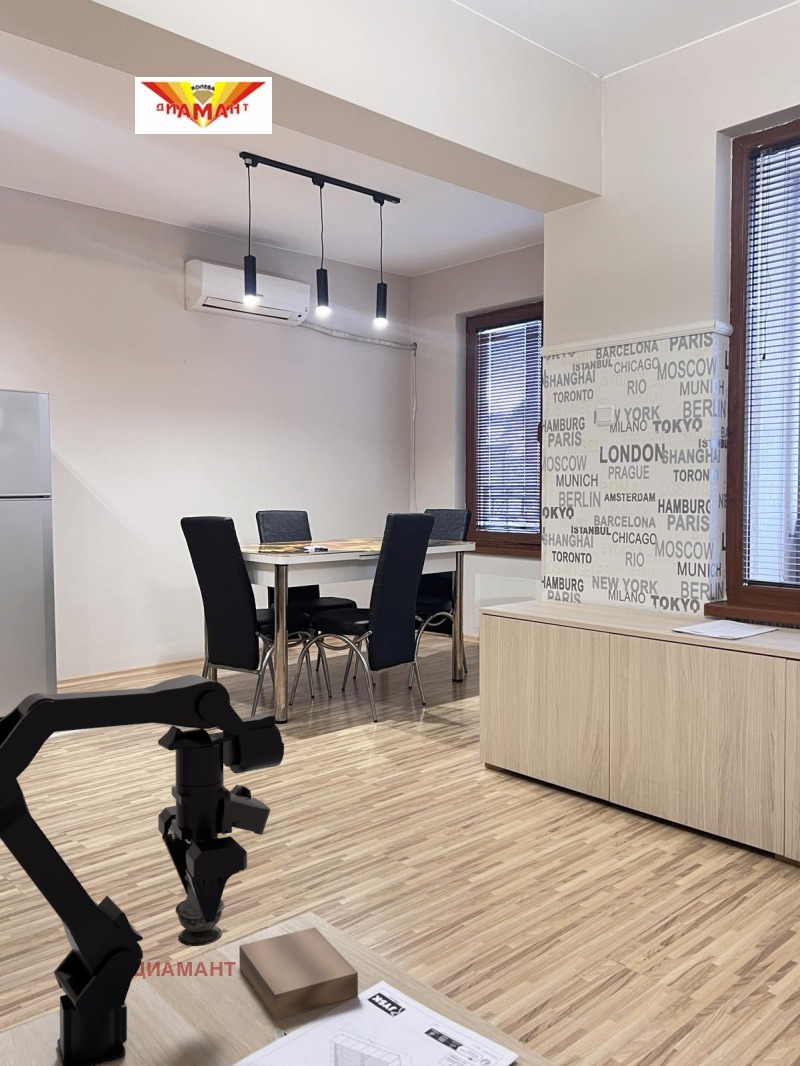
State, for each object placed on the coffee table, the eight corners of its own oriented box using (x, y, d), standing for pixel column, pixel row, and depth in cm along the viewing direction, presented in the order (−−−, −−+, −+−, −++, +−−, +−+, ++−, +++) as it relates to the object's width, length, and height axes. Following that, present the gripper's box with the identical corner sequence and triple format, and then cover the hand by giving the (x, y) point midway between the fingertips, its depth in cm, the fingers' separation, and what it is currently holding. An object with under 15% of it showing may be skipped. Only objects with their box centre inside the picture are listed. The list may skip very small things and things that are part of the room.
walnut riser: (275, 1019, 103) (275, 994, 103) (239, 967, 115) (239, 945, 115) (357, 996, 108) (357, 972, 108) (315, 948, 120) (315, 927, 120)
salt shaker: (165, 941, 103) (164, 842, 103) (196, 921, 108) (195, 826, 108) (204, 951, 101) (204, 849, 101) (234, 930, 106) (234, 833, 106)
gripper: (289, 790, 100) (289, 923, 100) (240, 754, 116) (240, 868, 117) (194, 805, 95) (195, 945, 95) (157, 765, 111) (157, 884, 111)
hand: (200, 907), depth 105 cm, fingers closed on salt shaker, 8 cm apart
